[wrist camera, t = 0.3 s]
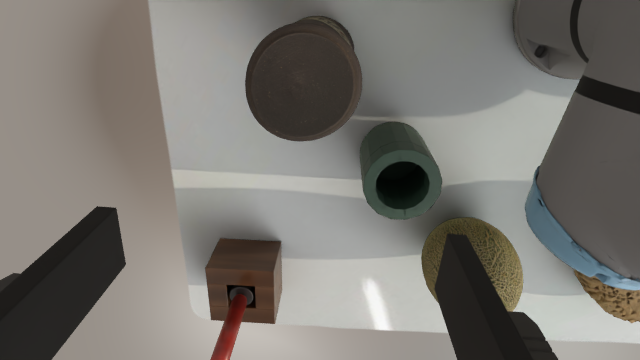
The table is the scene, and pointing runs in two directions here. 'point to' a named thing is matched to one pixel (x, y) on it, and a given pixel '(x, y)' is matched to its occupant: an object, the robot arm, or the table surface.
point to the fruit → (490, 251)
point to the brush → (233, 321)
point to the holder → (245, 278)
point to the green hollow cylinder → (398, 171)
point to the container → (304, 79)
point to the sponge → (612, 298)
